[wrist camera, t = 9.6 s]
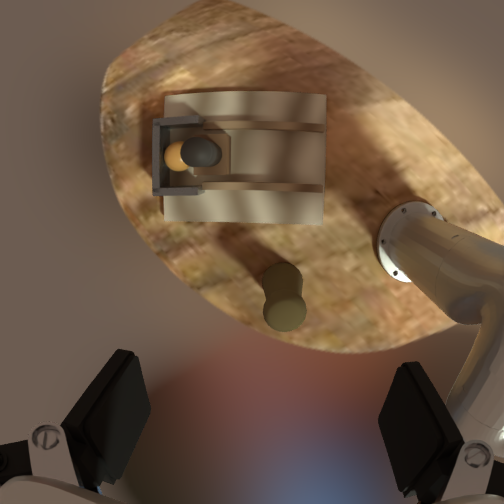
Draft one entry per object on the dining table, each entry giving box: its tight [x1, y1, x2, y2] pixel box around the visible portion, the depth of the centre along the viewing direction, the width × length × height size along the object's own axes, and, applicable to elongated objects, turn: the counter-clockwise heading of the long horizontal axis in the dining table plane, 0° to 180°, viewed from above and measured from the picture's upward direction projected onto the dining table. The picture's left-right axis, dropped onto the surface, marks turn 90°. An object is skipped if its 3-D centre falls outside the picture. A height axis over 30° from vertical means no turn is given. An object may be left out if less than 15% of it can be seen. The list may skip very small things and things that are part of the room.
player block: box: [180, 134, 231, 175], centre depth 32 cm, size 4×5×11 cm
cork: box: [262, 263, 307, 332], centre depth 38 cm, size 6×6×11 cm
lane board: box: [164, 91, 326, 225], centre depth 37 cm, size 22×18×3 cm
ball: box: [164, 141, 190, 171], centre depth 36 cm, size 4×4×4 cm
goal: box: [152, 115, 206, 196], centre depth 36 cm, size 6×10×4 cm, turn 179°
